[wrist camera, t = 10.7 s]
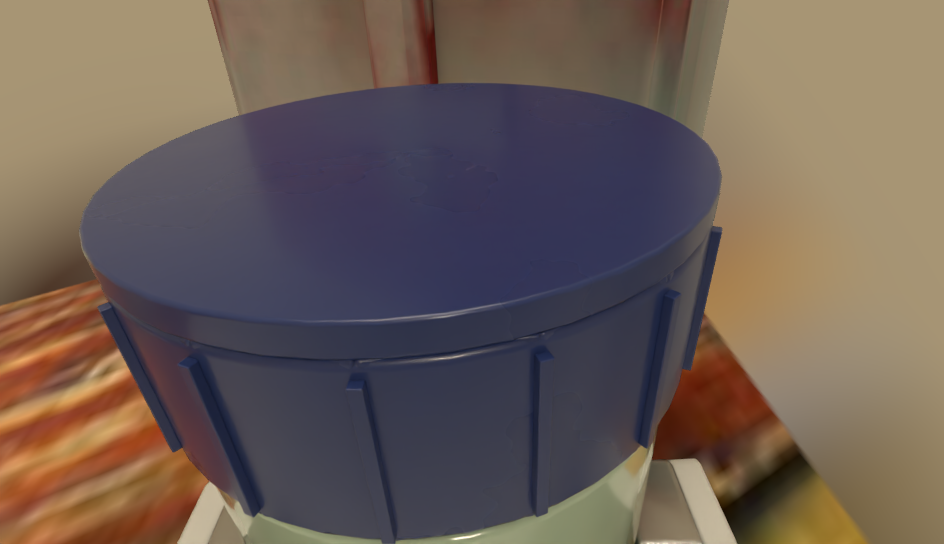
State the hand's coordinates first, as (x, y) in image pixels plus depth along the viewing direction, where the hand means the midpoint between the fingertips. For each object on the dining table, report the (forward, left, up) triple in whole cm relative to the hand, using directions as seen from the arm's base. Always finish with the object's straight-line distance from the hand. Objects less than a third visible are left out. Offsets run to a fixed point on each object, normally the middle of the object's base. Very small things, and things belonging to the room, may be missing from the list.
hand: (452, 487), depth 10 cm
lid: (0, +1, +7) cm, 7 cm away
